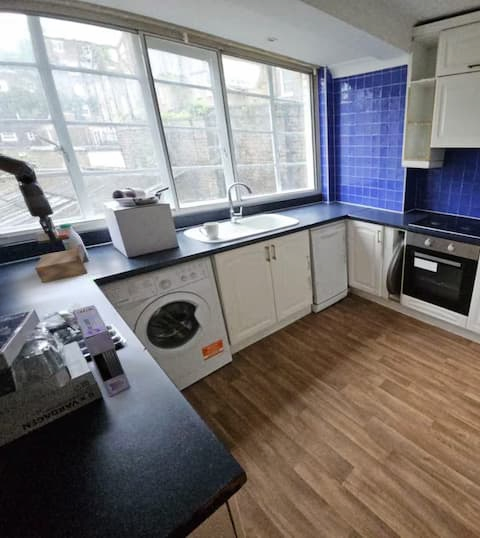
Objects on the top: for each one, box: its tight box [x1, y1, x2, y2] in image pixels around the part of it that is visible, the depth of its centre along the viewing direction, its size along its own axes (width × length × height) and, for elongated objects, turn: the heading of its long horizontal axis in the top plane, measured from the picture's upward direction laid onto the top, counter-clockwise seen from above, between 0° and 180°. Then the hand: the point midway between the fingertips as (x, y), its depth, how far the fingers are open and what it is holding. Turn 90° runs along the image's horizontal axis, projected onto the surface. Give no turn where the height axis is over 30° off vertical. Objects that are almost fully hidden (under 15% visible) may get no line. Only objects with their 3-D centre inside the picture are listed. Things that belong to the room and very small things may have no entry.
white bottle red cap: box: [35, 229, 70, 245], centre depth 144 cm, size 11×5×5 cm, turn 129°
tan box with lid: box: [34, 244, 90, 284], centre depth 147 cm, size 16×24×10 cm, turn 39°
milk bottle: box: [59, 222, 90, 258], centre depth 161 cm, size 8×8×20 cm
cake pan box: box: [72, 304, 131, 398], centre depth 74 cm, size 19×5×18 cm, turn 48°
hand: (54, 239), depth 145 cm, fingers closed on white bottle red cap, 4 cm apart
